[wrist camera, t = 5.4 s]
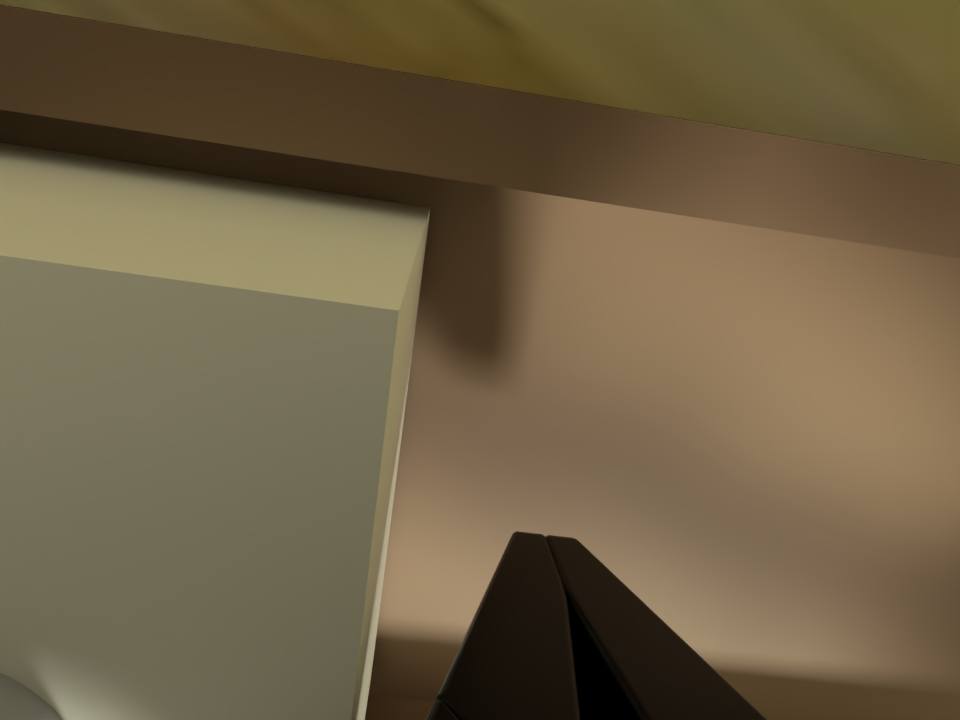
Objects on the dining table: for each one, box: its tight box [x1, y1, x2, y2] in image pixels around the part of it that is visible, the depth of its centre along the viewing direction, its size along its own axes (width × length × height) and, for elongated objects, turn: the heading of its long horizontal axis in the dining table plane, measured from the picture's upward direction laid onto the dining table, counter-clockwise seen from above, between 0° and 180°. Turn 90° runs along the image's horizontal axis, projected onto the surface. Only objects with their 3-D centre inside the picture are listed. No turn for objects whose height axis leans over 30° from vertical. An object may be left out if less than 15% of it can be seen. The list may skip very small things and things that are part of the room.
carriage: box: [0, 143, 430, 720], centre depth 7 cm, size 8×6×6 cm
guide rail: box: [0, 5, 960, 720], centre depth 9 cm, size 11×23×5 cm, turn 81°
